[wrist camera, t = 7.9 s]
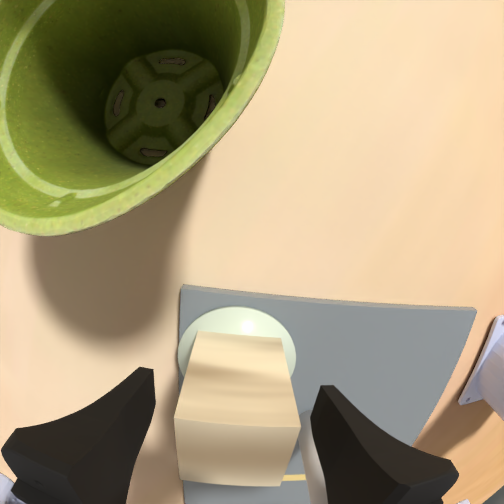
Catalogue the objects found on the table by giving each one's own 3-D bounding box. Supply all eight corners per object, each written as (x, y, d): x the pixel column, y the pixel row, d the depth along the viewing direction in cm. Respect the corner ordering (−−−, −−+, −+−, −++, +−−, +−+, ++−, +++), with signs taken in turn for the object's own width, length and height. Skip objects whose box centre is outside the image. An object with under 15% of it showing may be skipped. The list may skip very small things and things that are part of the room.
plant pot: (68, 195, 13) (-63, 220, 5) (99, 31, 11) (13, -45, 2) (246, 213, 14) (249, 266, 5) (272, 30, 11) (299, -94, 3)
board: (472, 307, 15) (547, 360, 8) (359, 507, 21) (375, 558, 13) (183, 284, 14) (132, 378, 7) (186, 510, 20) (179, 569, 12)
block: (269, 398, 15) (279, 486, 9) (196, 392, 15) (179, 479, 9) (281, 338, 14) (301, 427, 8) (197, 330, 14) (173, 417, 8)
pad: (305, 311, 14) (306, 315, 14) (283, 403, 15) (284, 407, 15) (180, 298, 14) (178, 301, 13) (179, 393, 15) (177, 397, 15)
